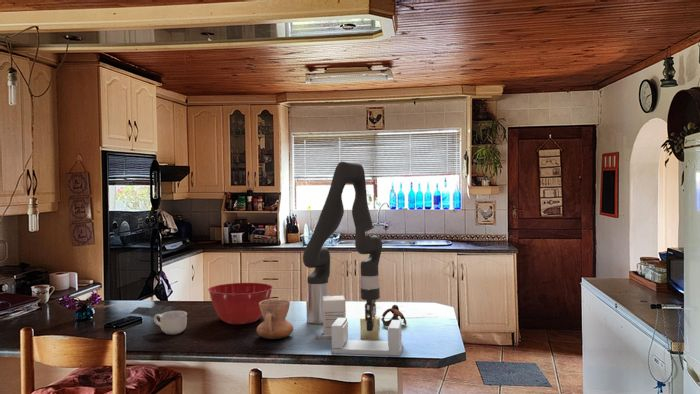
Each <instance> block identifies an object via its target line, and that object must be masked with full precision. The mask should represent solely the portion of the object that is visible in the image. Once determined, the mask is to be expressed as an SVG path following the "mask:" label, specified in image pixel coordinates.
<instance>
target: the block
mask: <svg viewBox="0 0 700 394" xmlns="http://www.w3.org/2000/svg"><path fill="white" fill-rule="evenodd" d="M368 317H370V316H368ZM359 320H360V323H359V324H360V325H359V326H360V333H359V334H360V340H371V341H380V337H381V334H380V333H381V332H380V331H381V330H380V325H381V324H380V316H378V315H377V316H376V315H375V316H373V321H372V323H373V330H372V331H367V321H365V315H362V316H361V317H360V318H359Z"/></svg>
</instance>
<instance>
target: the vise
mask: <svg viewBox="0 0 700 394" xmlns="http://www.w3.org/2000/svg"><path fill="white" fill-rule="evenodd" d="M402 337H403V336H402V319H399V320H392V321H391V323H390V325H389V326H388V328H387V340H369V339H347V340H346V342H345V344H344V345H343V347H342V348H332V347H331V353H332V354H348V355H349V354H351V355H354V354H355V355H374V356H375V355H378V356H401V354H402V351H403V347H404V341H403V339H402Z"/></svg>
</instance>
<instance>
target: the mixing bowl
mask: <svg viewBox="0 0 700 394" xmlns="http://www.w3.org/2000/svg"><path fill="white" fill-rule="evenodd" d="M272 289H273V286H272V285H271V284H267V283H263V282H235V283H234V282H233V283H224V284H219V285H218V284H217V285H213V286H210V287H209V288H208V289H207V290H208V292H209V296H210V299H211V300H210V301H211V303H212V306H213V308H214V310H215V312H216V314H217V316H218V318H219V319H220V320H221V321H223V322H224V323H226V324H228V325H229V324H230V325H248V324H251V323H254V322H257V321H258V320H260V319H261V317H263V315H262V313H261V310H260V307H259V303H260V302H261V301H264V300H268V299H271V298H270V297H271V293H272Z"/></svg>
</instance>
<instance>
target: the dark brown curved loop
mask: <svg viewBox="0 0 700 394" xmlns="http://www.w3.org/2000/svg"><path fill="white" fill-rule="evenodd" d="M388 313H392V317H391V318H390V319H389V320H387V321H385V317H386V316H387V315H388ZM381 316H382V318H381V321H382V325H383V326H384V327H389V325H390V323H391V321H392V320H403V322H402V323H403V325H404V326H407V320H406V318H405V316H404V314H403V313H402V312H401V310H400V308H399V306H398V305H397V304H393V305H392V306H391V308H388V309H385V310H384V312H383V313H382V315H381ZM399 317H400V318H399Z"/></svg>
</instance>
